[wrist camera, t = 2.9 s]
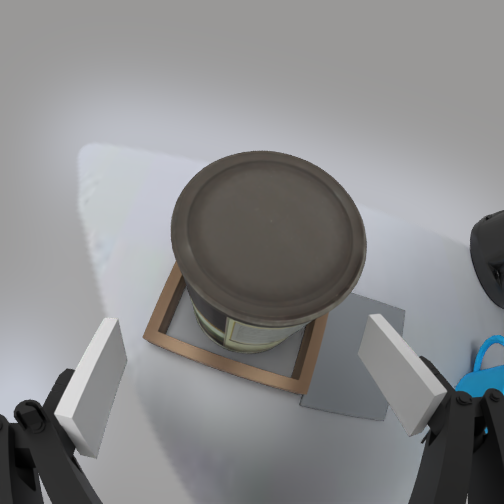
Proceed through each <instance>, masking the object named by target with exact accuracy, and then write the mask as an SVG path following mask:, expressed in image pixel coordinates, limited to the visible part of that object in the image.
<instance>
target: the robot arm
mask: <svg viewBox="0 0 504 504" xmlns="http://www.w3.org/2000/svg"><path fill="white" fill-rule="evenodd" d="M470 247H471V254H472V259H473V263H474V266H475V269H476V272H477V275H478V277H479V280H480V282H481V284H482V286H483V287H484V289H485V291H486V292H487V294H488V295H489V297H490V298H491V299H492V300H493V301H494V302H495V303H496V304H497V305H498V306H500V307H502V308H504V210H502V211H499V212H497V213H494V214H491V215H487V216H485V217H484V218H482V219H481V220H480V221H479V222H478V223H476V224H475V225H474V227H473V229H472V232H471V237H470ZM358 355H359V357H360V358H361V360H362V362H363V363H364V365H365V366H366V368H367V369H368V371H369V373H370V374H371V376H372V377H373V379H374V381H375V382H376V384H377V385H378V387H379V388H380V390H381V392H382V393H383V395H384V396H385V398H386V400H387V401H388V403H389V405H390V406H391V408H392V409H393V411H394V413H395V414H396V416H397V418H398V419H399V421H400V423H401V424H402V426H403V428H404V429H405V431H406V433H407V434H408V436H409V437H411V436H413V435H416V434H419V433H421V432H422V431H423V430H424V428H425V427H426V425H427V424H428V426H429V427H430V430H429V431H428V433H427V434H426V435H425V437H424V438H423V440H422V441H421V443H422V444H423V442H424V441H425V440H426V443H425V448H424V452H423V456H422V460H421V464H420V467H419V471H418V475H417V478H416V481H415V485H414V488H413V491H412V494H411V497H410V500H409V503H408V504H466V499H467V493H468V504H504V395H503V393H502V392H500V391H499V390H497V389H495V388H489V389H487V390H486V391H485V393H484V395H483V396H482V397H472V396H471V395H470V394H468V393H467V392H464V391H455V390H454V388H453V387H452V386H451V385H450V384H449V383H448V381H447V380H446V379H445V378H444V377H443V375H442V374H440V372H439V371H438V370H437V369H436V367H435V366H434V365H433V364H432V363H431V362H430V361H429V360H427V359H426V358H424V357H423V356H420V357H418V356H417V354H416V353H415V352H414V351H413V350H412V349H411V348H410V346H409V345H408V344H407V343H406V342H405V341H404V340H403V338H402V337H401V336H400V335H399V334H398V333H397V332H396V331H395V329H394V328H393V327H392V326H391V325H390V324H389V323H388V322H387V321H386V319H385V318H384V317H383V316H382V315H381V314H372V315H369V316H368V320H367V323H366V327H365V331H364V334H363V338H362V342H361V345H360V348H359V352H358ZM127 361H128V360H127V356H126V352H125V348H124V344H123V339H122V335H121V330H120V325H119V320H118V319H117V318H104V320H103V321H102V323H101V325H100V327H99V328H98V330H97V332H96V333H95V335H94V337H93V339H92V341H91V342H90V344H89V346H88V348H87V350H86V351H85V353H84V355H83V357H82V359H81V361H80V363H79V364H78V366H77V368H76V370H73V369H66V370H65V371H64V372H62V373H61V374H60V375H59V377H58V379H57V380H56V382H55V385H54V386H53V388H52V391H50V393H49V395H48V397H47V399H46V401H45V403H44V405H43V407H42V406H41V405H40V403H38V402H37V401H35V400H24V401H23V402H21V403H19V404H18V405H17V406H16V408H15V410H14V418H15V419H16V420H17V422H18V423H9V422H8V421H7V419H6V418H5V417H4V416H3V415H1V414H0V504H44V502H43V497H42V492H41V487H40V481H39V476H40V478H41V480H42V483H43V485H44V487H45V489H46V491H47V494H48V496H49V498H50V500H51V502H52V504H103V503H102V502H101V500H100V499H99V497H98V496H97V494H96V493H95V491H94V489H93V488H92V486H91V485H90V483H89V481H88V479H87V478H86V476H85V474H84V473H83V471H82V469H81V468H80V465H79V464H78V462H77V460H76V458H75V457H74V455H73V454H74V450H75V448H76V449H77V451H78V452H79V453H80V455H83V456H88V457H92V458H97V456H98V452H99V449H100V445H101V441H102V438H103V434H104V431H105V428H106V424H107V421H108V418H109V414H110V411H111V408H112V405H113V402H114V399H115V396H116V392H117V389H118V386H119V384H120V380H121V377H122V375H123V372H124V369H125V366H126V363H127ZM486 428H487V430H488V433H487V434H486V433H485V429H486ZM38 473H39V474H38Z"/></svg>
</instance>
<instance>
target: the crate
mask: <svg viewBox="0 0 504 504" xmlns="http://www.w3.org/2000/svg"><path fill="white" fill-rule="evenodd" d="M185 286H186V283H185V279H184V277H183V275H182V273H181V271H180V269H179V266H178V264H177V261H176V262H175V264H174V266H173V269H172V271H171V273H170V275H169V277H168V279H167V282H166V284H165V286H164V288H163V291H162V293H161V295H160V297H159V300H158V302H157V304H156V307H155V309H154V311H153V314H152V316H151V318H150V321H149V323H148V326H147V328H146V330H145V333H144V335H143V338H144V339H145V340H147V341H148V342H150V343H152V344H154V345H157V346H159V347H161V348H164V349H166V350H169V351H171V352H173V353H176V354H178V355H181V356H183V357H186V358H188V359H191V360H194V361H196V362H199V363H202V364H204V365H207V366H210V367H212V368H215V369H218V370H221V371H224V372H227V373H230V374H233V375H236V376H239V377H242V378H245V379H248V380H251V381H254V382H258V383H261V384H264V385H268V386H271V387H275V388H278V389H282V390H285V391H289V392H293V393H297V394H305V395H307V392H308V389H309V386H310V382H311V379H312V376H313V372H314V369H315V365H316V361H317V358H318V354H319V350H320V347H321V343H322V339H323V335H324V331H325V327H326V323H327V319H328V314H329V312H328V313H327V314H325V315H323V316H321V317H319V318H317V319H315V320H313V321H311V322H310V323H308V324H307V325H306V329H305V332H304V336H303V339H302V343H301V346H300V350H299V353H298V357H297V360H296V364H295V367H294V370H293V373H292V377H291V378H289V377H285V376H282V375H278V374H275V373H272V372H268V371H265V370H262V369H258V368H255V367H252V366H249V365H246V364H243V363H240V362H237V361H234V360H231V359H228V358H225V357H222V356H219V355H217V354H214V353H211V352H208V351H206V350H203V349H200V348H198V347H195V346H192V345H190V344H187V343H185V342H182V341H180V340H177V339H175V338H172V337H170V336H167V335H165V334H166V332H167V329H168V327H169V324H170V322H171V320H172V317H173V315H174V312H175V310H176V307H177V305H178V303H179V300H180V298H181V296H182V293H183V291H184V288H185Z"/></svg>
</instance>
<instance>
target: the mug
mask: <svg viewBox="0 0 504 504" xmlns="http://www.w3.org/2000/svg"><path fill="white" fill-rule="evenodd" d="M494 343H499V344H501V345H503V346H504V337H503V336H501V335H494V336H491V337H490V338H488V339H487V340H486V341H485V342H484V343H483V345H482V346H481V347H480V350H479V352H478V354H477V356H476V360H475V364H474V370H473V372H471V373H469V374H466V375H465V376H464V377H463V378H462V379H461V380H460V382H459V383H458V385H457V386H456V388H455V391H464V392H467V393H468V394H470V395H471V396H472V397H482V396H483V395H484V393H485V391H486V390H487V389H489V388H495V389H497V390H499V391H500V392H502V393H503V395H504V365H501V366H497V367H493V368H489V369H484V370H480V367H481V363H482V359H483V356H484V354H485V352H486V350H487V349H488V348H489V347H490V346H491V345H492V344H494ZM485 433H486V434H487V433H488V430H487V428H486V429H485Z"/></svg>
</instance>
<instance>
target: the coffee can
mask: <svg viewBox="0 0 504 504" xmlns="http://www.w3.org/2000/svg"><path fill="white" fill-rule="evenodd" d="M171 242H172V249H173V252H174V255H175V259H176V261H177V264H178V266H179V269H180V271H181V273H182V275H183V277H184V279H185V283H186V286H187V289H188V292H189V295H190V298H191V301H192V304H193V307H194V313H195V316H196V319H197V321H198V323H199V325H200V327H201V329H202V330H203V331H204V333H205V334H206V335H207V336H208V337H209V338H210V339H211V340H212V341H213V342H215V343H216V344H218V345H219V346H221V347H223V348H224V349H227V350H229V351H233V352H237V353H246V354H251V353H259V352H263V351H267V350H269V349H272V348H273V347H275V346H277V345H278V344H280V343H281V342H283V341H284V340H285V339H286V338H288V337H289V336H290V335H292V334H294V333H295V332H296V331H298V330H299V329H301V328H302V327H304V326H305V325H307V324H308V323H310V322H311V321H313V320H315V319H317V318H319V317H321V316H323V315H325V314H327V313H328V312H330V311H331V310H333V309H334V308H335V307H337V306H338V305H339V304H341V303H342V302H343V301H344V300H345V299H346V298H347V297H348V295H349V294H350V293H351V291H352V290H353V289H354V287H355V286H356V284H357V282H358V280H359V278H360V276H361V273H362V271H363V268H364V264H365V260H366V251H367V241H366V233H365V228H364V224H363V220H362V218H361V215H360V213H359V211H358V209H357V207H356V205H355V203H354V201H353V200H352V198H351V197H350V196H349V194H348V193H347V192H346V191H345V189H344V188H343V187H342V186H341V185H340V184H339V183H338V182H337V181H336V180H335V179H334V178H333V177H332V176H331V175H329V174H328V173H327V172H325V171H324V170H322V169H321V168H319V167H318V166H316V165H314V164H312V163H310V162H308V161H306V160H303V159H301V158H298V157H295V156H292V155H288V154H284V153H279V152H273V151H251V152H242V153H238V154H234V155H230V156H227V157H224V158H222V159H219V160H217V161H215V162H213V163H211V164H209V165H208V166H206V167H205V168H203V169H202V170H201V171H199V172H198V173H197V174H196V175H195V176H194V177H193V178H192V179H191V180H190V181H189V183H188V184H187V185H186V186H185V188H184V189H183V191H182V192H181V194H180V196H179V198H178V199H177V202H176V205H175V207H174V211H173V215H172V220H171Z"/></svg>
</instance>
